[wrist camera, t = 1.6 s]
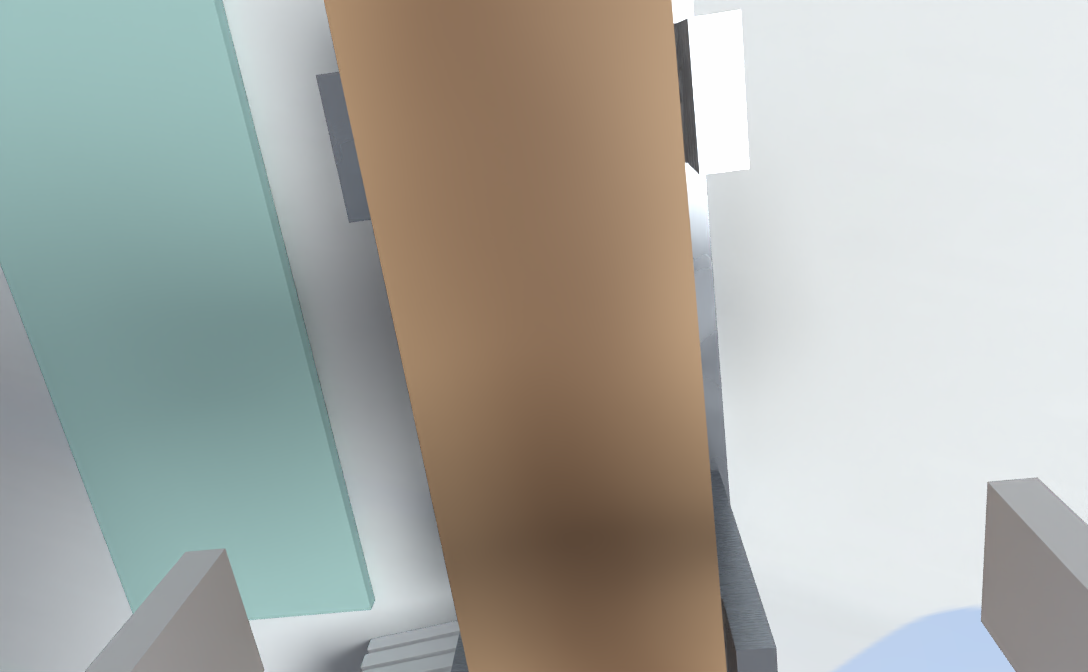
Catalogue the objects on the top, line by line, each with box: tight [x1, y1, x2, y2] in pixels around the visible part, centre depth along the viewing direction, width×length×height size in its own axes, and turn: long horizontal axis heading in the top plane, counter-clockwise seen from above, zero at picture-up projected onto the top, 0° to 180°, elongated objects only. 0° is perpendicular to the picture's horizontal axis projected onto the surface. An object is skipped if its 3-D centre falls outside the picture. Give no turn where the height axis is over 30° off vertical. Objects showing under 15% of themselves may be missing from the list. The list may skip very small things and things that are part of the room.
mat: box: [0, 0, 375, 620], centre depth 28 cm, size 10×24×1 cm, turn 8°
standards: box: [316, 0, 778, 672], centre depth 23 cm, size 9×20×10 cm, turn 8°
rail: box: [324, 0, 727, 672], centre depth 17 cm, size 5×22×6 cm, turn 8°
